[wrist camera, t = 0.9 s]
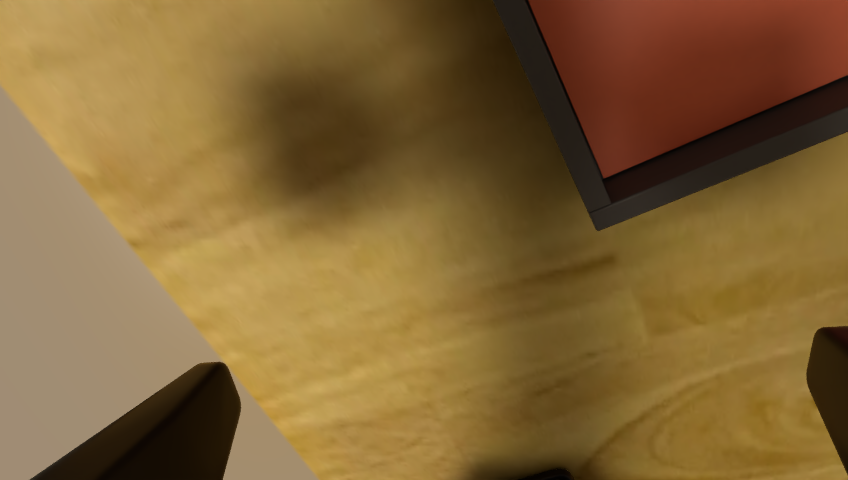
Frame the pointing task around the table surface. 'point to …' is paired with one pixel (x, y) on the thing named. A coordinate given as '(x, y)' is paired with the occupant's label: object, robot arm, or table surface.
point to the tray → (679, 89)
